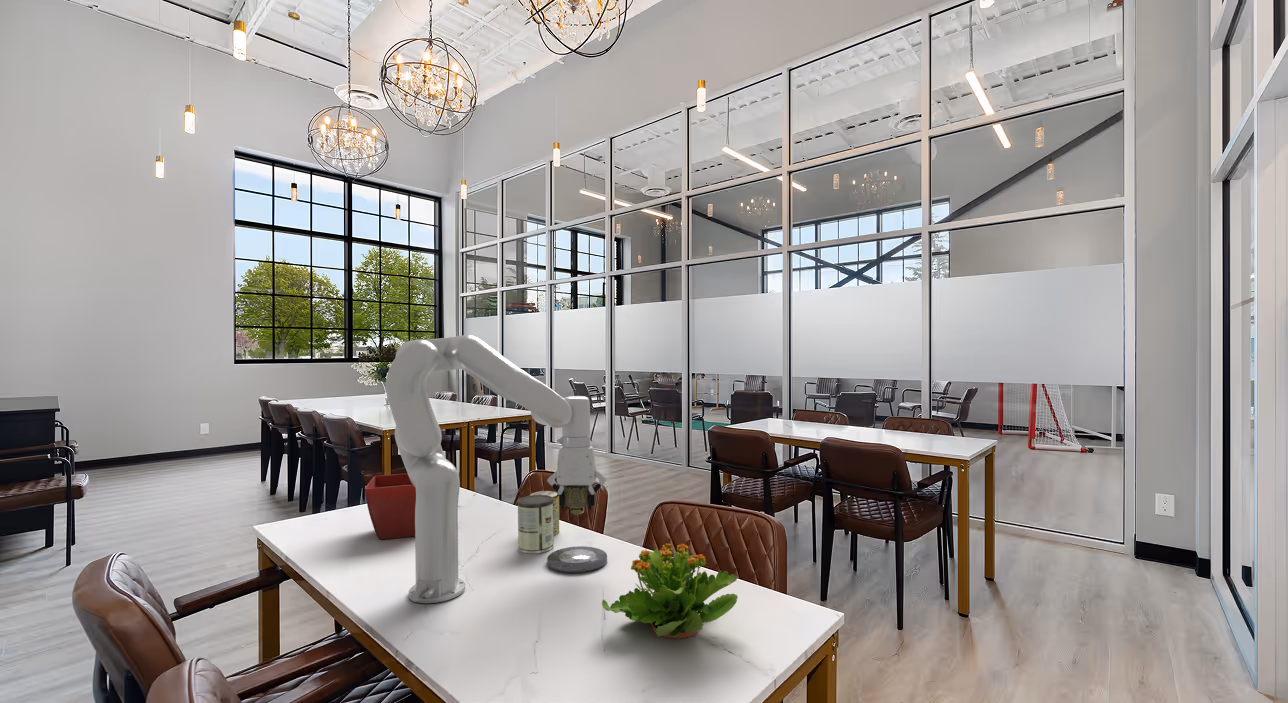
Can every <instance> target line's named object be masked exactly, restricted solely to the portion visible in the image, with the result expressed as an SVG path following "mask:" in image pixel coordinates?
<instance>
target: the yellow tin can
mask: <svg viewBox="0 0 1288 703" xmlns="http://www.w3.org/2000/svg"><path fill="white" fill-rule="evenodd" d="M531 495H547V496H551V497H553V536H554V537H555V536H556V535H558V534H560V506H559V494H558V493H557V492H556V491H555V490H542V491H541V490H540V491H536V492H532V493H530V495H529V496H531Z"/></svg>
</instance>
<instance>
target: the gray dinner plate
mask: <svg viewBox="0 0 1288 703" xmlns="http://www.w3.org/2000/svg"><path fill="white" fill-rule="evenodd" d="M546 558H547V559H546V564H547V567H548V569H549V570H551V571H553V572H556V573H560V574H565V575H570V574H571V575H579V574H587V573H592V572H595V571H597V570H600V569H602V568H604V567H605V566H606V565H607V564H608V554H607V552H606V551H604V550H603V549H600V548H598V547H595V546H593V547H592V546H579V545H578V546H569V547H564V548H560V549H557V550H554V551H552V552H551V553H550V554H548V556H547V557H546Z"/></svg>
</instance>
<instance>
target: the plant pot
mask: <svg viewBox="0 0 1288 703" xmlns="http://www.w3.org/2000/svg"><path fill="white" fill-rule="evenodd" d="M364 496H365V500H366V505H367V509H368V515H369V517H370V520H371V521H370V522H371V524H372V527H373V529H374V532H375V535H376V537H377V539H378V540H389V539H397V538H399V539H400V538H408V537H415V506H416V488H415V487H414V486H413V484H412V482H411V481H410V478H409V476H408V473H398V474H397V473H395V474H383V475H382V474H381V475H375V476H373V477H372V478H371V479H370V480H369V482H368V483H367V485H366V486H365V487H364Z"/></svg>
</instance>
